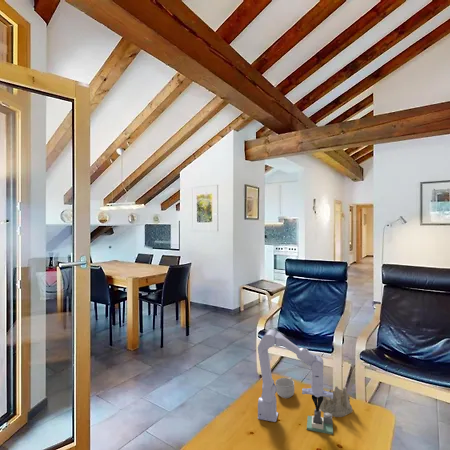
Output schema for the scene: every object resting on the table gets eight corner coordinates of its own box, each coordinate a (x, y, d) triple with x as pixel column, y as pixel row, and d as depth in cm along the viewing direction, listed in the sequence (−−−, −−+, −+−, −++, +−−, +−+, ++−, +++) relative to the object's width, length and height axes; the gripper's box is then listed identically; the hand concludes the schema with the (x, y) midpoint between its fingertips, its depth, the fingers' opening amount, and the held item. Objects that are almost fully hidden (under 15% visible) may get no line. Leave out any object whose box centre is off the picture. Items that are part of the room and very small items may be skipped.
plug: (314, 426, 152) (314, 413, 152) (314, 421, 155) (314, 408, 155) (320, 427, 151) (320, 414, 151) (320, 422, 154) (320, 409, 154)
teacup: (287, 402, 174) (286, 388, 174) (271, 395, 182) (271, 381, 182) (301, 393, 183) (301, 380, 183) (286, 386, 191) (286, 373, 191)
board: (306, 429, 151) (306, 420, 151) (307, 417, 160) (307, 408, 160) (332, 434, 147) (332, 425, 147) (332, 421, 157) (332, 413, 157)
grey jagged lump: (357, 411, 165) (354, 383, 165) (332, 420, 158) (330, 390, 159) (336, 398, 179) (334, 372, 180) (313, 406, 173) (310, 379, 173)
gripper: (301, 384, 152) (301, 412, 152) (333, 388, 147) (333, 417, 147) (302, 377, 158) (302, 404, 158) (332, 381, 154) (333, 409, 154)
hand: (317, 410), depth 153 cm, fingers closed
